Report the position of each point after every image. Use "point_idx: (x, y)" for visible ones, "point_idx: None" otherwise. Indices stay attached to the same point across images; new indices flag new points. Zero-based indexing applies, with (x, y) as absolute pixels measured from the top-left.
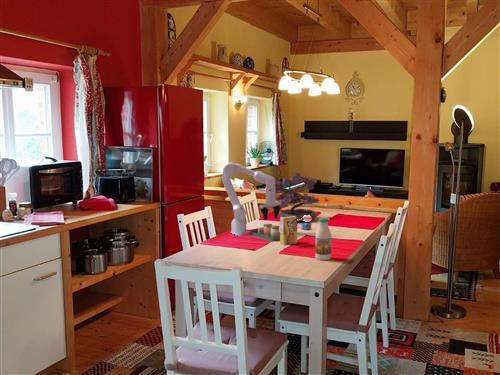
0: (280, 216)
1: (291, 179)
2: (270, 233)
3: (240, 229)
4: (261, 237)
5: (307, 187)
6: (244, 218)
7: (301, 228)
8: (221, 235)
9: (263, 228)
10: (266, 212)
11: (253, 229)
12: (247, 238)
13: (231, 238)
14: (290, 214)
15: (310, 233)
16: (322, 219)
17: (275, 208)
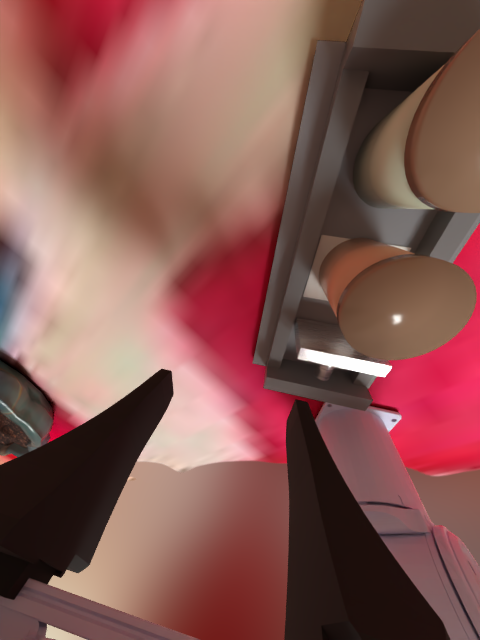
0: (48, 435)
1: None
2: (380, 242)
3: (394, 446)
4: None
5: None
6: (378, 524)
7: (29, 284)
8: (418, 464)
9: (339, 350)
10: (356, 524)
11: (354, 398)
12: (434, 357)
13: (473, 415)
14: (2, 420)
15: (10, 117)
16: None
17: (81, 520)
